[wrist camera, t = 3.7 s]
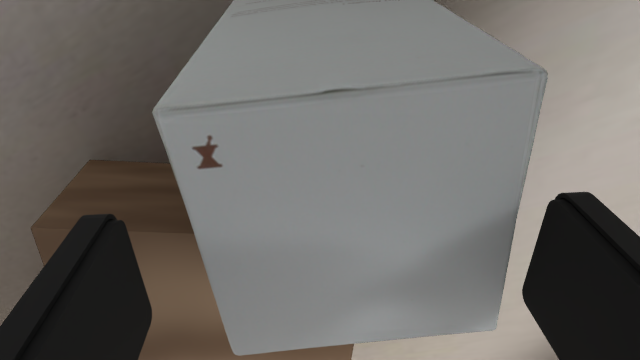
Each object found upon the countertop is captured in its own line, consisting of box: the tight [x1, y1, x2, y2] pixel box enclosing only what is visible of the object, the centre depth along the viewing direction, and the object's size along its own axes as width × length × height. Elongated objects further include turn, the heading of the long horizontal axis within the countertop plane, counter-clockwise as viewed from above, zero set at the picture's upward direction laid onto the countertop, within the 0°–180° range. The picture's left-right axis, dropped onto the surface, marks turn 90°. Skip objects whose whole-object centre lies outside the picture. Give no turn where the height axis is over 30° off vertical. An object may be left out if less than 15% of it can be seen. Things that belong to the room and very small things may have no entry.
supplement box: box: [152, 0, 548, 356], centre depth 15 cm, size 7×7×13 cm
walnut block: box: [31, 160, 354, 360], centre depth 24 cm, size 14×14×6 cm
